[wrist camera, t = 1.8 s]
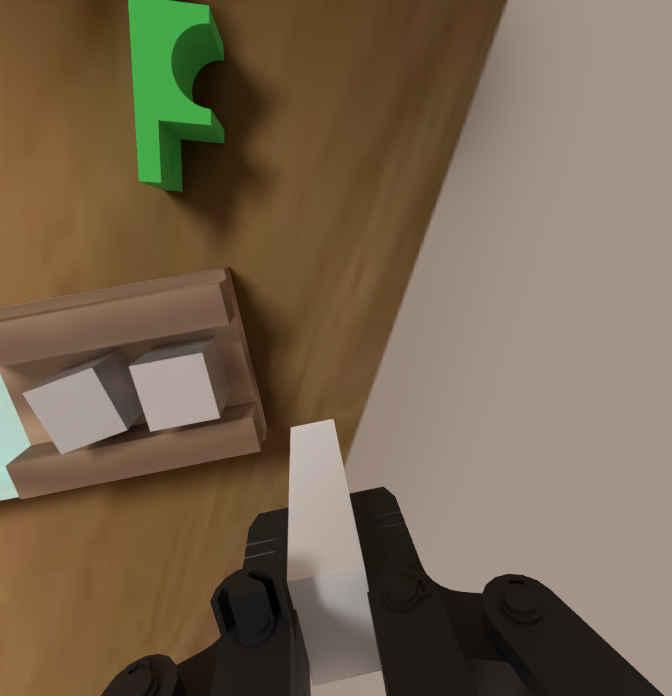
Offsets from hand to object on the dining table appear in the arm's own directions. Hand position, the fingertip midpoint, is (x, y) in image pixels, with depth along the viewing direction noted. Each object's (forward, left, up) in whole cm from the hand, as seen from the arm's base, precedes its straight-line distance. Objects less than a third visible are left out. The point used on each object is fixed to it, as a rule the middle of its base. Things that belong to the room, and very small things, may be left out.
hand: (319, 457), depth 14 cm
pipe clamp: (-16, -4, -16) cm, 23 cm away
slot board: (0, -12, -15) cm, 19 cm away
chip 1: (0, -13, -13) cm, 19 cm away
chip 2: (0, -8, -13) cm, 15 cm away
